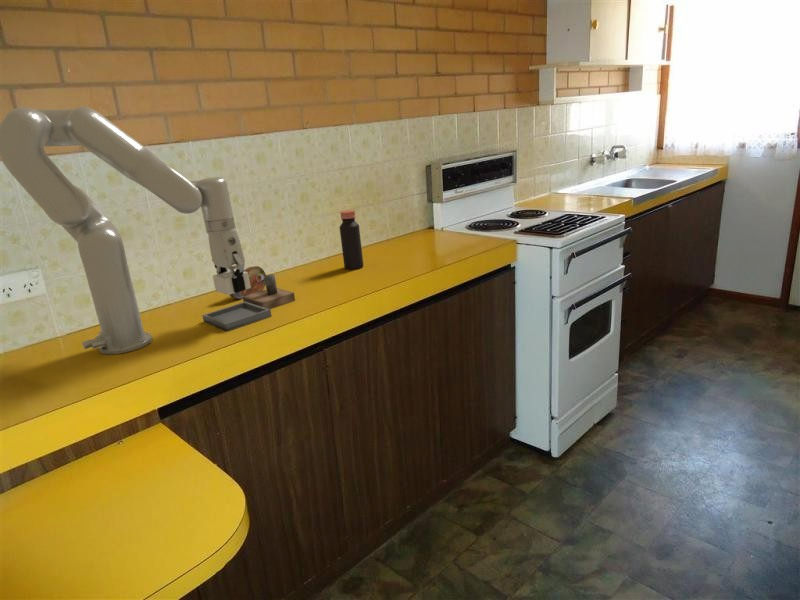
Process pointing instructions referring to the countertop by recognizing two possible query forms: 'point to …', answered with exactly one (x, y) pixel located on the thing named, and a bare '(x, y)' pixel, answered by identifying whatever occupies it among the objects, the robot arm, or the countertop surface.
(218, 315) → the tray
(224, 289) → the off-white open box
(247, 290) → the tin
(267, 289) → the wooden stand
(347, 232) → the bottle
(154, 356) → the countertop surface
